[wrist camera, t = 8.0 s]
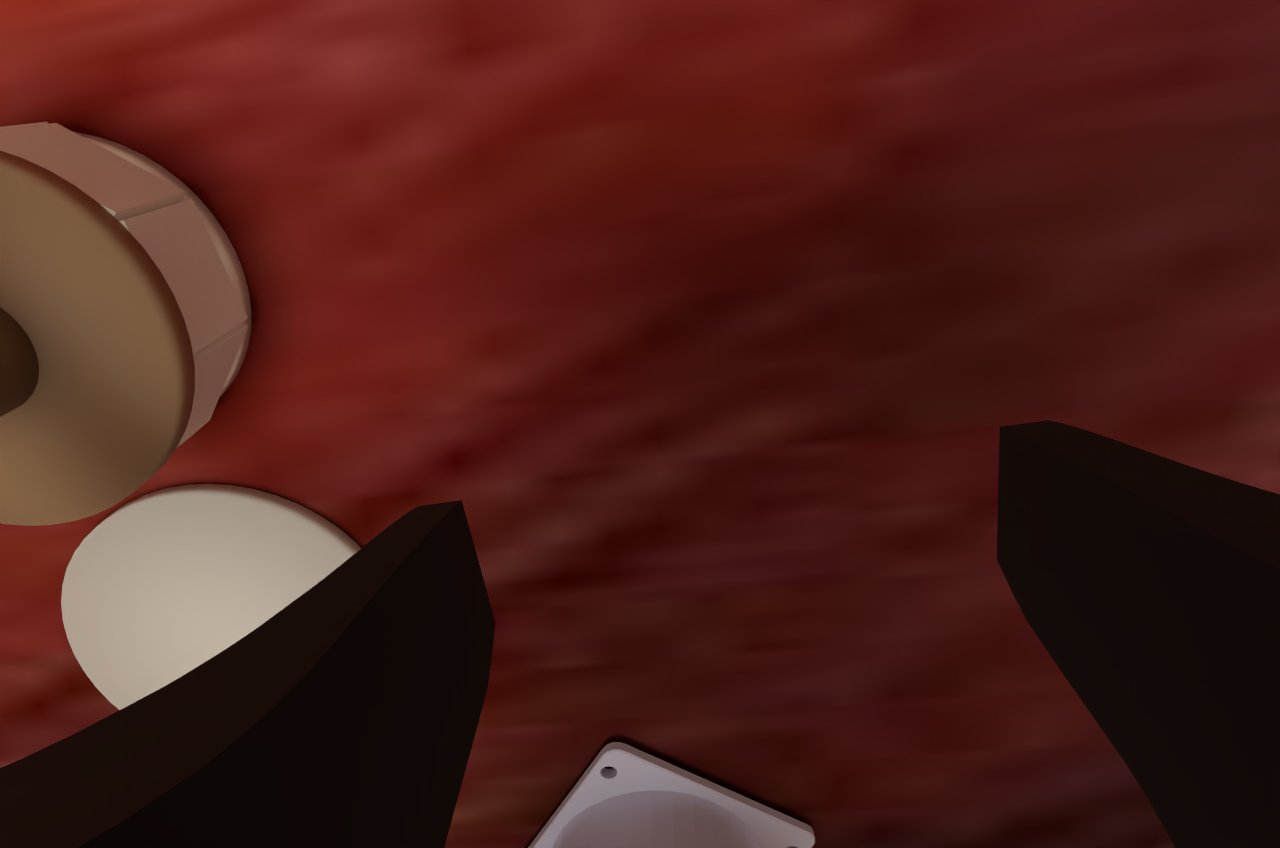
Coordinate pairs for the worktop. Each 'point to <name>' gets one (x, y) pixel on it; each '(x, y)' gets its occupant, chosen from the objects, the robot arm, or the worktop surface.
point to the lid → (81, 354)
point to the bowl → (159, 244)
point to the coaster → (188, 580)
